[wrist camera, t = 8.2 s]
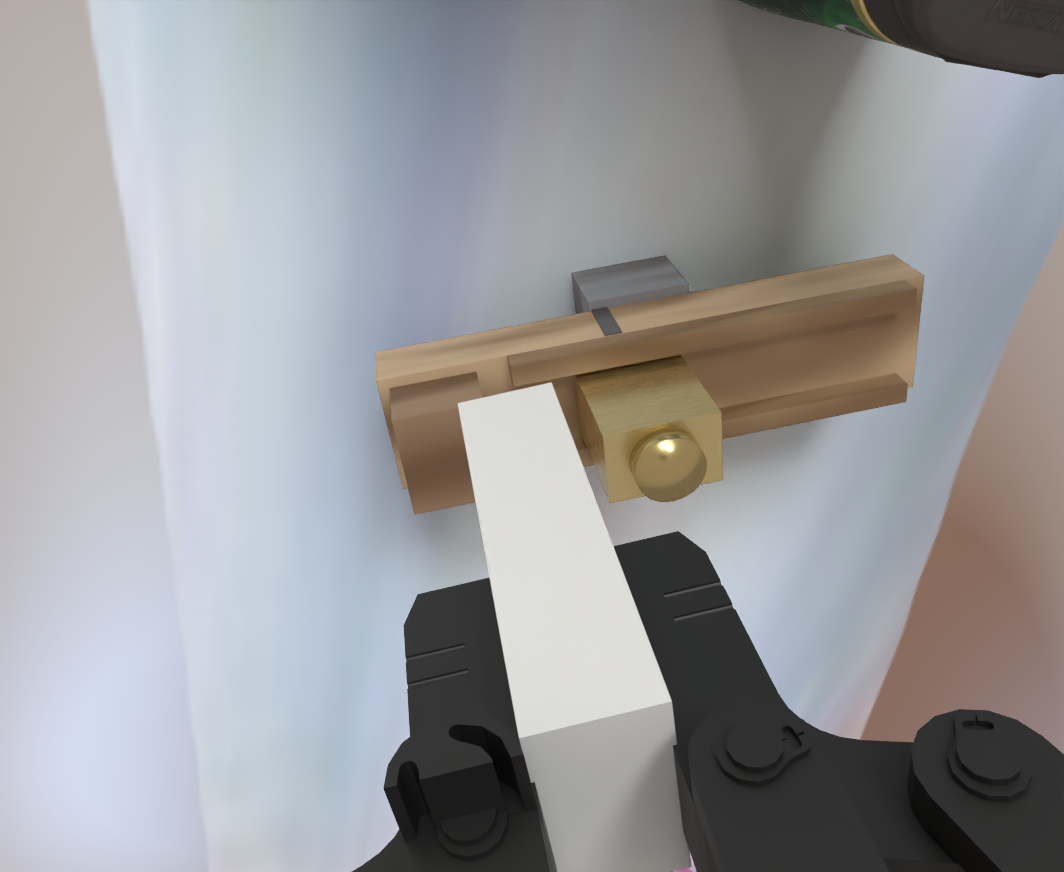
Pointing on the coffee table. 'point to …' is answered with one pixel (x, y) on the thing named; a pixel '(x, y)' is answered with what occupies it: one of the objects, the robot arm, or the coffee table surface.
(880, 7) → the coffee jar
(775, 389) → the beam
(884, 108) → the coffee table surface
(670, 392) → the rider
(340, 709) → the coffee table surface
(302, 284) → the coffee table surface
